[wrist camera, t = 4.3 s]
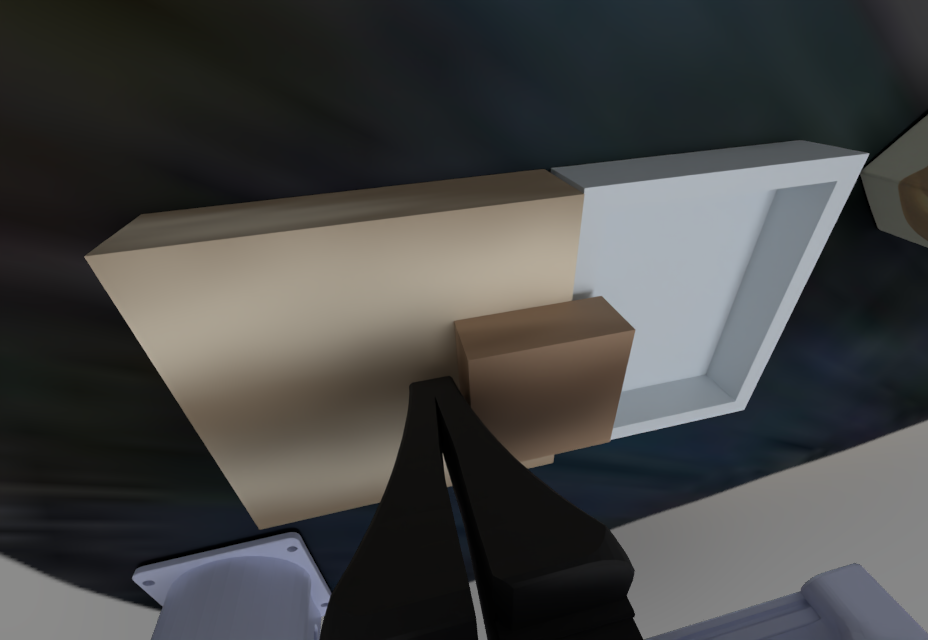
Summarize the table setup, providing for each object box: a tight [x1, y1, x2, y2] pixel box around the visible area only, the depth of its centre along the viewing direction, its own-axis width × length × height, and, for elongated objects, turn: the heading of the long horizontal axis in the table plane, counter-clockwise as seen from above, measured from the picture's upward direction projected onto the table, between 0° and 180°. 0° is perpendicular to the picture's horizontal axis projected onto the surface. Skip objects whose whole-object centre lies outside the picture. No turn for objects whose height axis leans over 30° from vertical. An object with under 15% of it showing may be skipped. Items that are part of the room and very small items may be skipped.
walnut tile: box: [454, 296, 635, 462], centre depth 13 cm, size 5×5×2 cm
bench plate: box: [84, 169, 585, 529], centre depth 15 cm, size 12×12×3 cm
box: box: [551, 140, 870, 440], centre depth 17 cm, size 12×10×2 cm
